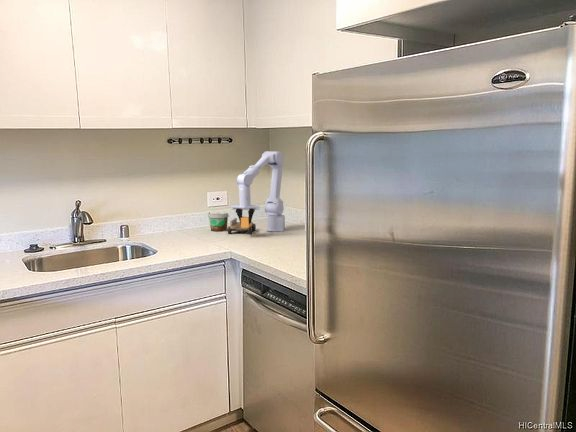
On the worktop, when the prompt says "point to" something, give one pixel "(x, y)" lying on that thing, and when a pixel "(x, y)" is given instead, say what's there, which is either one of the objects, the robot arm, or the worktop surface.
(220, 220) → the food container
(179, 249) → the worktop surface
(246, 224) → the block
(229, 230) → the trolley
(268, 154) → the robot arm
